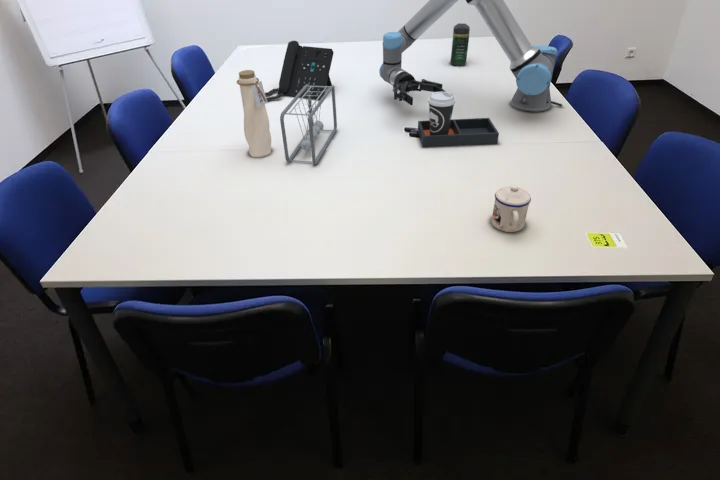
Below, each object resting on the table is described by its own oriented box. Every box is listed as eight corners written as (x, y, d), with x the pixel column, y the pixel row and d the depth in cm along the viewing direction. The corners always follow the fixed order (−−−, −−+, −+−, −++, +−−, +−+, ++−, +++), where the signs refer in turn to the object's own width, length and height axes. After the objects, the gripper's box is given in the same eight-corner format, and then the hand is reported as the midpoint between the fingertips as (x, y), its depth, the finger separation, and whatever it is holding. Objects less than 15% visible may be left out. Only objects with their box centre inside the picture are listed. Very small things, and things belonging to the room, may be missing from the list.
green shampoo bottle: (466, 66, 235) (470, 26, 224) (450, 66, 236) (453, 26, 225) (466, 60, 243) (470, 22, 232) (450, 60, 244) (453, 22, 233)
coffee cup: (451, 142, 167) (455, 101, 158) (424, 141, 168) (427, 100, 159) (452, 131, 174) (456, 91, 165) (426, 129, 176) (429, 90, 167)
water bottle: (280, 148, 169) (269, 69, 152) (269, 159, 162) (255, 78, 145) (255, 145, 172) (241, 66, 155) (243, 156, 165) (227, 75, 148)
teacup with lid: (488, 213, 132) (494, 177, 125) (521, 214, 132) (529, 177, 125) (494, 239, 123) (501, 201, 116) (530, 240, 122) (539, 202, 115)
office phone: (248, 102, 206) (240, 54, 194) (281, 81, 227) (275, 36, 214) (308, 110, 197) (303, 60, 185) (336, 87, 217) (333, 41, 205)
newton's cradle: (311, 128, 182) (306, 82, 171) (337, 129, 180) (334, 83, 170) (285, 165, 159) (278, 114, 148) (315, 167, 157) (310, 116, 146)
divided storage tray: (487, 128, 177) (489, 117, 175) (497, 144, 167) (499, 133, 164) (417, 131, 177) (418, 120, 175) (422, 147, 166) (423, 136, 164)
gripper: (429, 85, 193) (457, 102, 177) (373, 95, 186) (397, 114, 170) (430, 66, 188) (459, 82, 173) (373, 76, 181) (397, 94, 166)
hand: (428, 98), depth 171 cm, fingers open, 13 cm apart
